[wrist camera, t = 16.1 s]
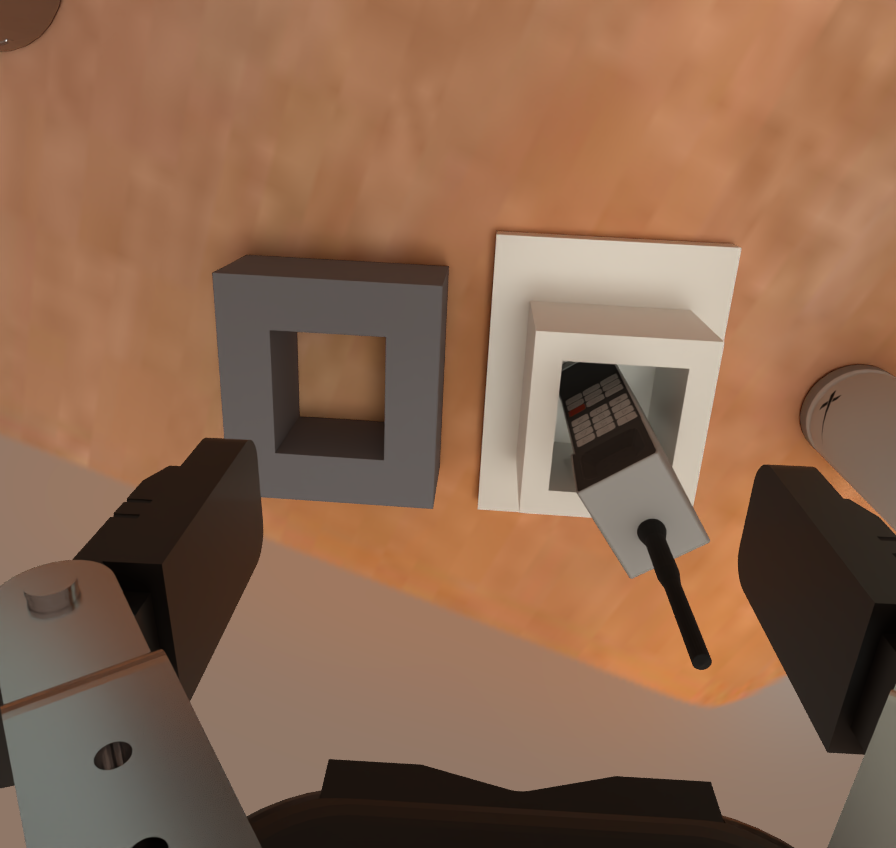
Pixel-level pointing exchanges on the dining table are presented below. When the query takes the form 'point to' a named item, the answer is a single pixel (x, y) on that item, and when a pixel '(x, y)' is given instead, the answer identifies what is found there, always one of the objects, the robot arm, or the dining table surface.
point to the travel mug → (857, 431)
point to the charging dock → (598, 353)
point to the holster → (277, 386)
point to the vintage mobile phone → (631, 485)
